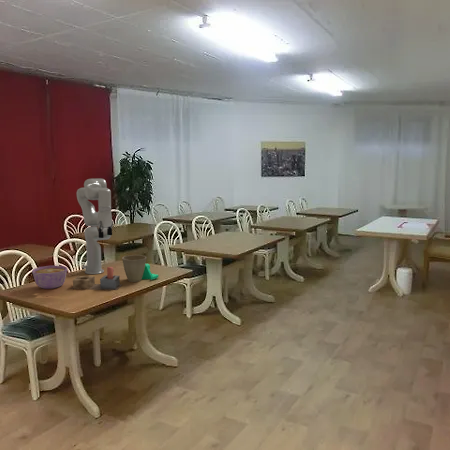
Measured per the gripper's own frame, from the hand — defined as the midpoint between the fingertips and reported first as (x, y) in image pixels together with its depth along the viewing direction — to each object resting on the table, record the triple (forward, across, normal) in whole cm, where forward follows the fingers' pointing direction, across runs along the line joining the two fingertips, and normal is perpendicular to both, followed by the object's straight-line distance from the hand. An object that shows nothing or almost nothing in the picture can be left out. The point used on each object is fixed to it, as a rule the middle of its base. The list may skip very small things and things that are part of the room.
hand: (105, 236), depth 290 cm
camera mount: (+30, -18, +20) cm, 40 cm away
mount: (+28, +16, -6) cm, 33 cm away
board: (+29, +14, +2) cm, 33 cm away
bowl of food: (+30, +22, -25) cm, 45 cm away
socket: (+28, +12, +10) cm, 32 cm away
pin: (+28, +12, +10) cm, 32 cm away
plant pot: (+30, -7, +16) cm, 35 cm away
